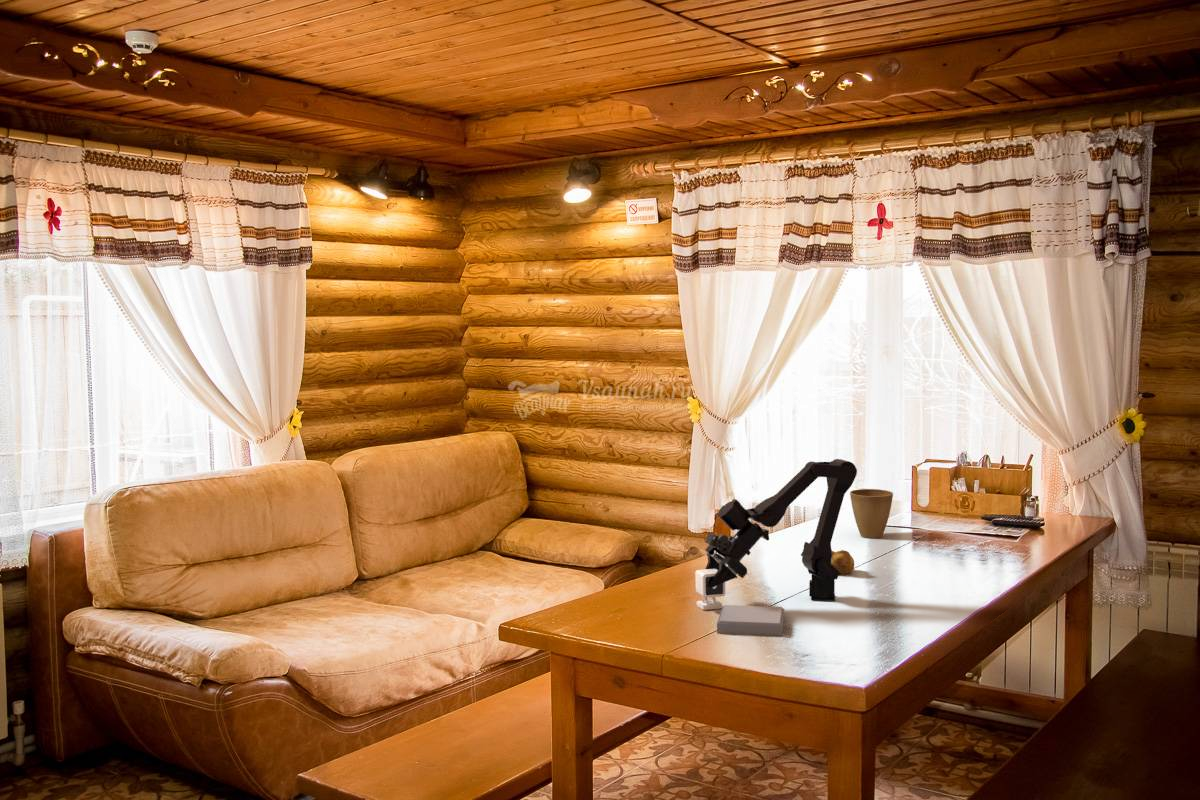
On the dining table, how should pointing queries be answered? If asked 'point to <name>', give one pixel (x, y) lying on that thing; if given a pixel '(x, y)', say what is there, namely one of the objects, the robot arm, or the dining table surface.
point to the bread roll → (842, 562)
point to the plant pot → (871, 511)
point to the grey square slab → (751, 620)
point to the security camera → (708, 589)
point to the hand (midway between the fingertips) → (705, 584)
